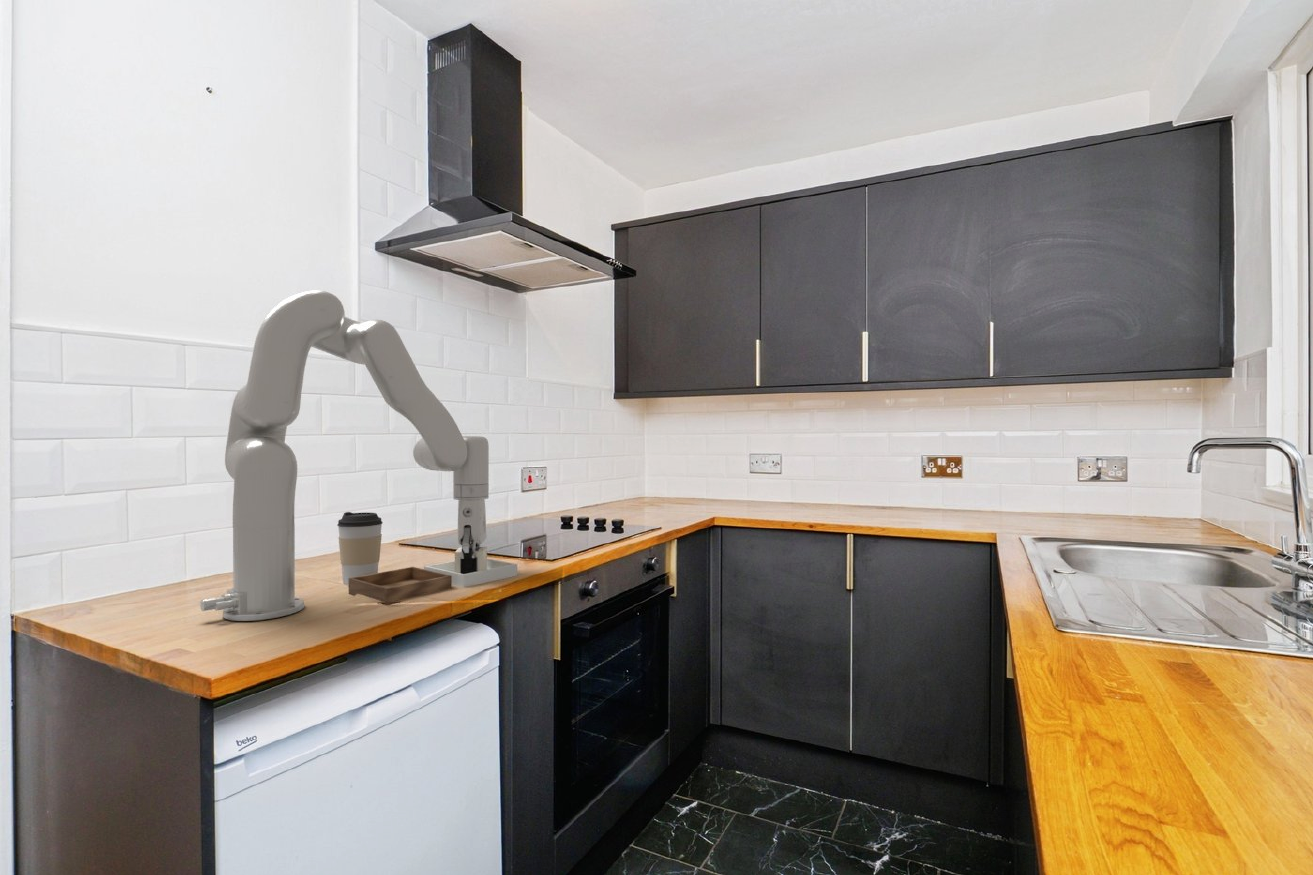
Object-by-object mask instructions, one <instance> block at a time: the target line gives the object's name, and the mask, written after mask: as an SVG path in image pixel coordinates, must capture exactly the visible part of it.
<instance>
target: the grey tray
mask: <svg viewBox="0 0 1313 875" xmlns="http://www.w3.org/2000/svg"><path fill="white" fill-rule="evenodd" d="M423 569H425V570H429V571H433V572H438V573H442V574H446V575H451V576H452V586H454V587H455V586H456V587H460V588H463V589H464V588H468V587H472V586H476V585H480V584H485V583H490V582H493V581H498V580H503V579H508V578H512V577H513V578H514V577H517V576H518V563H514V562H508V561H503V560H498V559H493V558H488V557H487V570H483V571H478V572H473V573H468V574H461V573H456V572H455V560H451V561H446V562H441V563H435V564H430V565H424V566H423Z"/></svg>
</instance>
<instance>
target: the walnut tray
mask: <svg viewBox="0 0 1313 875" xmlns="http://www.w3.org/2000/svg"><path fill="white" fill-rule="evenodd" d="M452 588H453V585H452V576H451V575H446V574H442V573H438V572H433V571H429V570H425V569H424V568H419V567H415V566H411V567H404V568H399V569H394V570H393V569H392V570H388V571H382V572H378V573H376V574H370V575H364V576H359V577H353V578H349V585H348V594H349V595H350V596H351V595H352V596H357V595H361V596H364V597H367V598H370V599H374V600H376V601H379V602H377V604H380V605H385V606H390V605H394V604H400V603H401V601H400V600H404V599H409V598H413V597H418V596H422V595H426V594H431V593H435V592H440V591H444V590H450V589H452Z"/></svg>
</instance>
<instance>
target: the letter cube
mask: <svg viewBox="0 0 1313 875" xmlns="http://www.w3.org/2000/svg"><path fill="white" fill-rule="evenodd" d="M471 549H472V547H471ZM461 552H462V546H460V547H458V548H457V549H456V551H455V552H454V561H455V572H456V573H461ZM475 558H476V572H478V571H483V570H487V558H488V548H487V546H480V547H476V548H475Z"/></svg>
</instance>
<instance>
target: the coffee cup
mask: <svg viewBox="0 0 1313 875" xmlns="http://www.w3.org/2000/svg"><path fill="white" fill-rule="evenodd" d="M382 524H383V521H382V518H381V517H379V516H378V514H377V513H376V512H350V511H347V512H344V513H343V515H342V518H341V519H338V522H337V525H336V526H337V527H338V544H339V545H338V546H339V557H340V565H341V572H342V583H343V584H344V585H347V586H349V578H353V577H359V576H364V575H370V574H376V573H379V562H380V558H381V547H382V537H383V536H382Z"/></svg>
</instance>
